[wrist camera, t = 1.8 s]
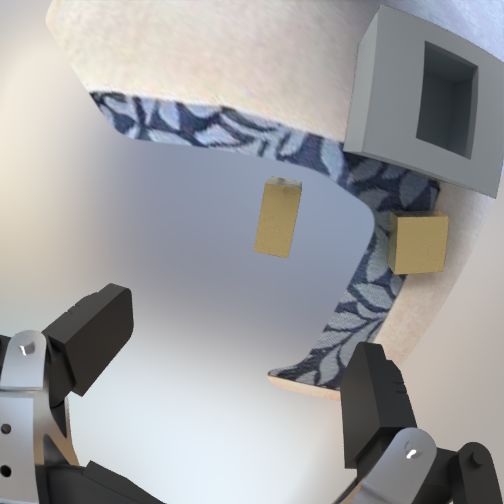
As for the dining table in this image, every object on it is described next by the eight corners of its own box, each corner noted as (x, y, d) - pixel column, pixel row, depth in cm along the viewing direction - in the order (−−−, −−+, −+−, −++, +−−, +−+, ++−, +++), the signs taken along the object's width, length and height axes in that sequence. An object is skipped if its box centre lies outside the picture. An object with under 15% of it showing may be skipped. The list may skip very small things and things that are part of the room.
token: (389, 210, 28) (398, 217, 25) (437, 210, 27) (448, 216, 24) (387, 263, 30) (394, 274, 27) (432, 260, 29) (443, 271, 26)
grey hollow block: (358, 45, 22) (381, 4, 13) (457, 81, 21) (508, 65, 12) (342, 151, 26) (364, 152, 17) (444, 181, 25) (495, 198, 16)
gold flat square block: (272, 176, 29) (265, 182, 23) (301, 181, 28) (301, 189, 23) (262, 232, 31) (253, 251, 25) (290, 237, 30) (287, 258, 25)
